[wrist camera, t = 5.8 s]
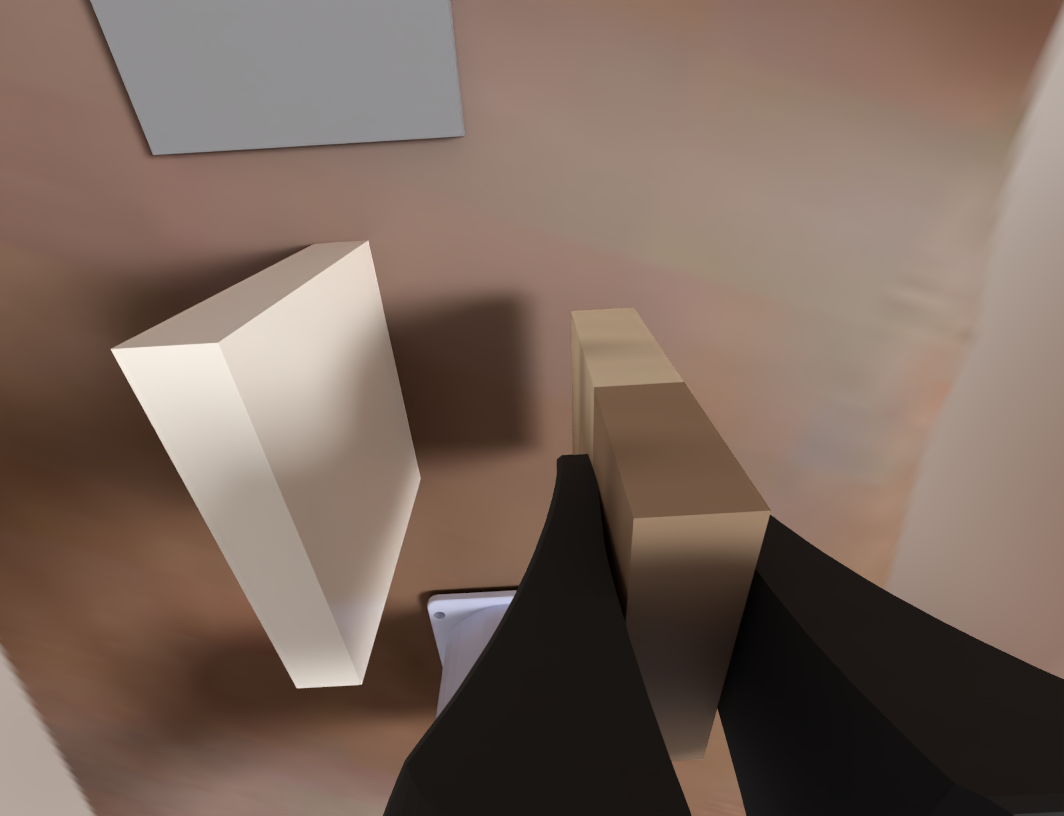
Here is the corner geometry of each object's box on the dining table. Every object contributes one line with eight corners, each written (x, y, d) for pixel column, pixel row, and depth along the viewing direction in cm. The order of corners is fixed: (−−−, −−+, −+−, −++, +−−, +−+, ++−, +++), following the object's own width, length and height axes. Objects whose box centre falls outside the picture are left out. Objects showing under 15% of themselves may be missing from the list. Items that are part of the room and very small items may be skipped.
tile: (420, 478, 18) (361, 684, 11) (376, 480, 18) (291, 688, 11) (368, 240, 14) (217, 343, 7) (310, 243, 14) (100, 349, 7)
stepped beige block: (622, 489, 15) (703, 758, 8) (573, 492, 15) (615, 763, 8) (633, 307, 12) (771, 511, 5) (571, 311, 12) (633, 517, 5)
